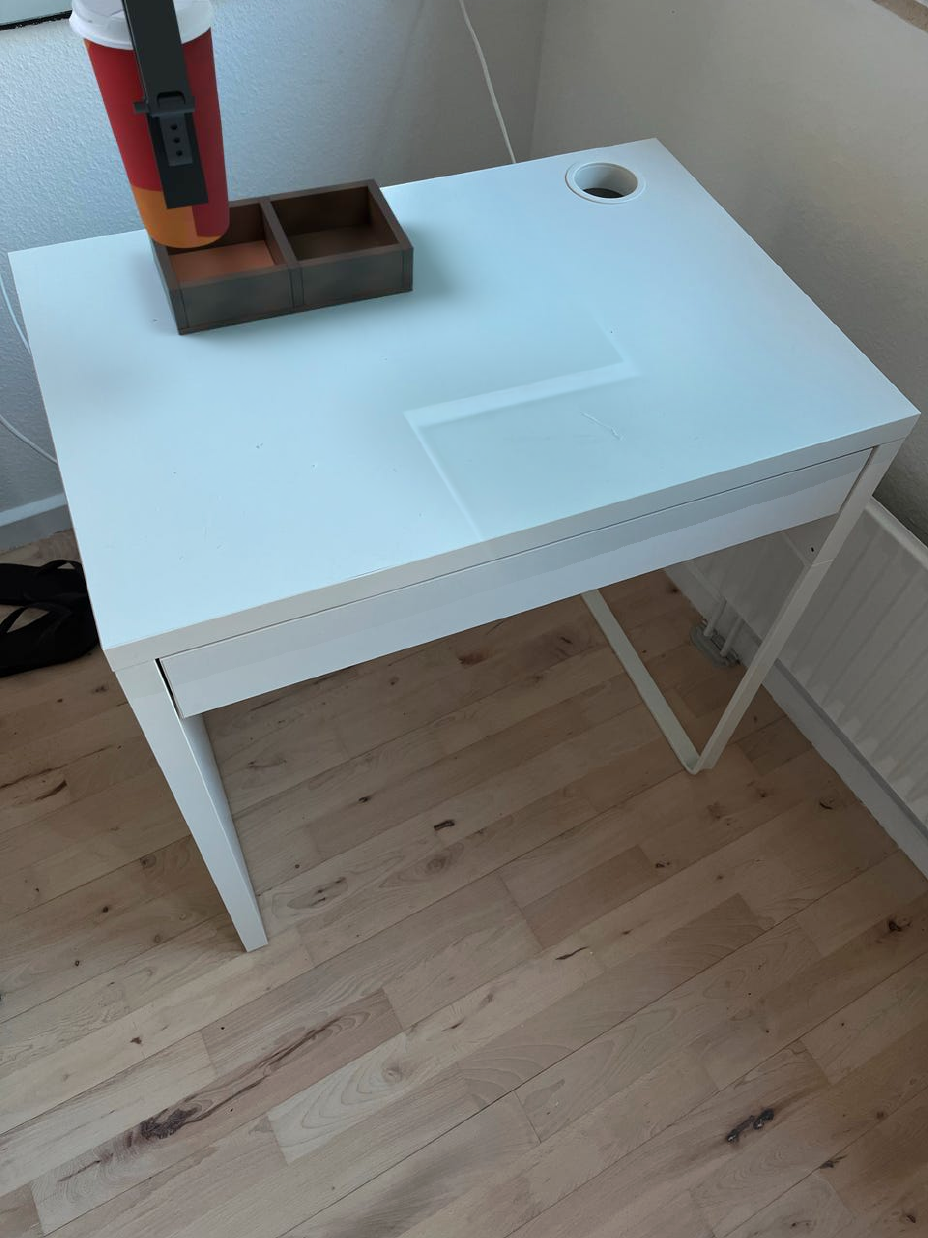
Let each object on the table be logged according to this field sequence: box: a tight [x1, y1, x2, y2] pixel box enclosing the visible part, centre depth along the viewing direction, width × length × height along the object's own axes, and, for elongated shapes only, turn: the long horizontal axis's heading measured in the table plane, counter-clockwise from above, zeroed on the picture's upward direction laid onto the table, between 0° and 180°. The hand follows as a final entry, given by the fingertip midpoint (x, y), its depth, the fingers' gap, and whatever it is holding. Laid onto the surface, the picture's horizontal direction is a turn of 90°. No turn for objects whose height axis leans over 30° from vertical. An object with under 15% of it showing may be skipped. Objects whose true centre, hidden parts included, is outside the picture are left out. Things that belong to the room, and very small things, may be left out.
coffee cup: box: [68, 0, 230, 248], centre depth 61 cm, size 8×8×15 cm
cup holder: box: [147, 178, 414, 336], centre depth 87 cm, size 22×12×5 cm, turn 111°
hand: (174, 165), depth 63 cm, fingers closed on coffee cup, 8 cm apart
